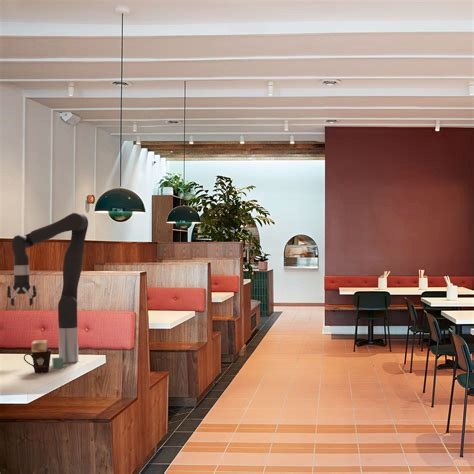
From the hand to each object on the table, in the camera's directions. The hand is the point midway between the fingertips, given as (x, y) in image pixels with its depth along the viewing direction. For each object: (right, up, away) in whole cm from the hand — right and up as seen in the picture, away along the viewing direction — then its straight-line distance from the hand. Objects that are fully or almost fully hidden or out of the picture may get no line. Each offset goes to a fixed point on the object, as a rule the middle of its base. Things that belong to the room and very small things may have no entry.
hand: (22, 305), depth 352 cm
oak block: (+19, -17, -33) cm, 42 cm away
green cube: (+24, -28, -22) cm, 43 cm away
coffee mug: (+18, -28, -34) cm, 47 cm away
